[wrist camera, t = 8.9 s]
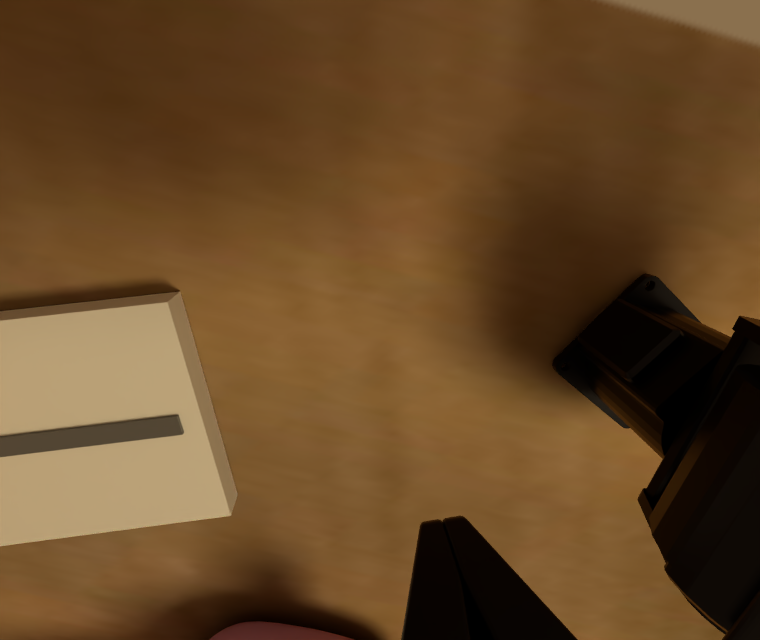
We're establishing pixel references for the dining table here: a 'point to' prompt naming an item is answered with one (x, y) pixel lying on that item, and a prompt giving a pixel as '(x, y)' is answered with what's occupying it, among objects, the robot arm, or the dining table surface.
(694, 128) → the dining table surface
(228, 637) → the teapot
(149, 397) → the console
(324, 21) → the dining table surface
